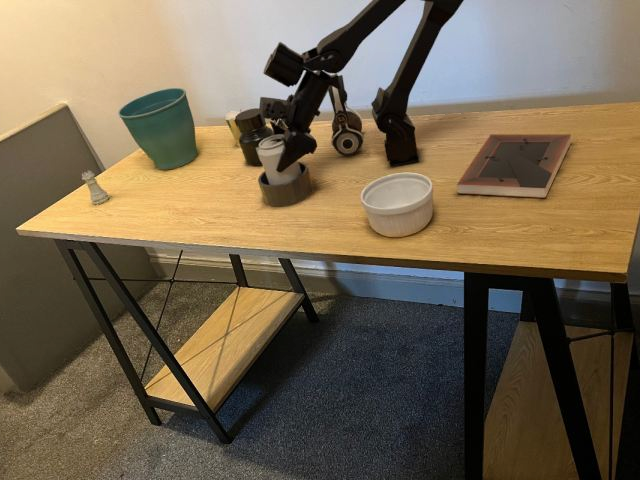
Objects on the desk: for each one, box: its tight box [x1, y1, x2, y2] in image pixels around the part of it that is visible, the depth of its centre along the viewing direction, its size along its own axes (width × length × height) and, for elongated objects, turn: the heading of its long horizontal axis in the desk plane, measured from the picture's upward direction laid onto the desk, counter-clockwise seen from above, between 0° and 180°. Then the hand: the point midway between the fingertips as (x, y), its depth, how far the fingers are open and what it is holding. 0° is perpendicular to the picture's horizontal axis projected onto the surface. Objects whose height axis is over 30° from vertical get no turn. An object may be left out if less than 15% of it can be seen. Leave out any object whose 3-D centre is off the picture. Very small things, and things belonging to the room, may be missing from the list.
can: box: [258, 134, 302, 185], centre depth 124 cm, size 8×8×12 cm
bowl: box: [257, 161, 315, 208], centre depth 127 cm, size 11×11×5 cm
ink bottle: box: [235, 107, 273, 167], centre depth 144 cm, size 10×9×12 cm
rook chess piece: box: [81, 170, 110, 205], centre depth 147 cm, size 4×4×8 cm
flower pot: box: [117, 87, 199, 171], centre depth 155 cm, size 18×18×17 cm
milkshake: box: [224, 110, 242, 147], centre depth 156 cm, size 4×5×10 cm
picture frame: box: [456, 133, 572, 199], centre depth 114 cm, size 16×2×22 cm
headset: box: [327, 73, 365, 157], centre depth 135 cm, size 17×8×20 cm, turn 1°
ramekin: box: [360, 171, 434, 238], centre depth 106 cm, size 13×13×7 cm
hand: (274, 165), depth 124 cm, fingers closed on can, 7 cm apart
